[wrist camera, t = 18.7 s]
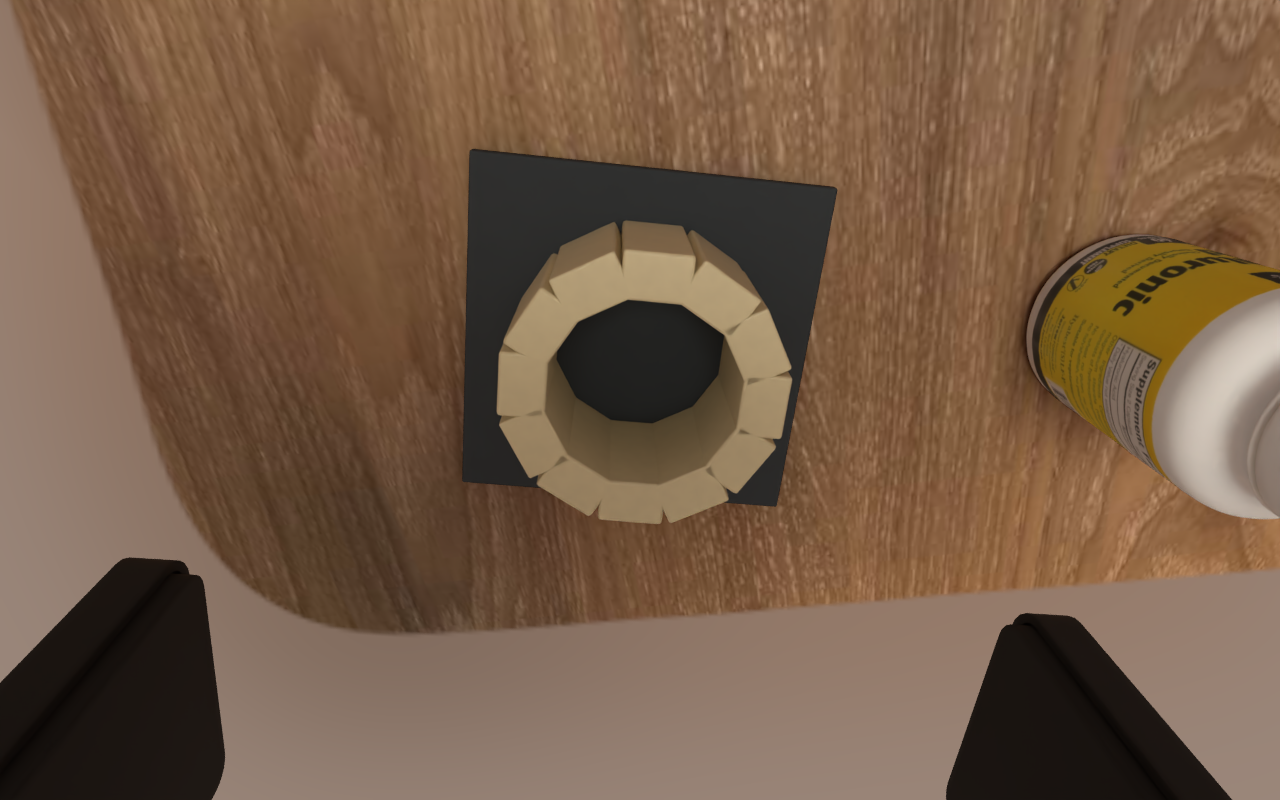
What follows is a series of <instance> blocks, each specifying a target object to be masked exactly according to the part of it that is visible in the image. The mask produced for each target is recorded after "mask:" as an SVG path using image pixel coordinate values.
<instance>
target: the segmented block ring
mask: <svg viewBox="0 0 1280 800" xmlns="http://www.w3.org/2000/svg"><path fill="white" fill-rule="evenodd" d="M626 300H636V301H647V302H657V303H668V304H679V305H682V306H684V307H685V308H687V309H688V310H689V311H691V312H692V313H694V314H695V315H697V316H698V317H699V318H701V319H702V320H704V321H705V322H706V323H708V324H709V325H711V326H712V327H713V328H715V329H716V330H718V331H719V332H721V333H722V334H723V335H724V340H723V347H722V353H721V360H720V367H719V373H718V376H717V377H716V378H715V380H714V381H713V382H712V383H711V385H710V386H709V387H708V388H707V389H706V391H705V392H704V393H703V394H702V396H701V397H700V398H699V399H698V401H697V402H696V403H695V404H694V406H693V407H691V408H688V409H686V410H683V411H681V412H679V413H676V414H674V415H671V416H669V417H667V418H664V419H662V420H659V421H657V422H655V423H640V422H628V421H616V420H610V419H609V418H607V417H605V416H604V415H602V414H601V413H599V412H598V411H596V410H595V409H593V408H592V407H590V406H588V405H587V404H585V403H584V402H582V401H581V400H579V399H578V398H576V396H575V395H574V393H573V391H572V389H571V387H570V385H569V383H568V381H567V379H566V377H565V375H564V373H563V371H562V369H561V367H560V366H559V364H558V362H557V350H558V349H559V348H560V346H561V345H562V343H563V342H564V341H565V339H566V338H567V336H568V335H569V334H570V332H571V331H572V329H573V328H574V327H575V325H576V324H577V323H578V322H579V321H581V320H583V319H585V318H588V317H590V316H592V315H594V314H597V313H599V312H601V311H604V310H606V309H608V308H610V307H613V306H615V305H617V304H619V303H622V302H624V301H626ZM503 342H504V343H503V346H502V348H501V350H500V352H499V363H498V389H497V414H498V415H502V417H501V420H500V423H499V426H500V428H501V429H502V431H503V433H504V435H505V436H506V438H507V440H508V442H509V443H510V445H511V447H512V449H513V450H514V452H515V454H516V456H517V458H518V459H519V461H520V463H521V465H522V466H523V468H524V470H525V472H526V473H527V475H528V477H529V478H532V477H534V476H537V475H538V479H537V485H538V486H539V487H541V488H543V489H544V490H546V491H548V492H549V493H551V494H553V495H554V496H556V497H558V498H559V499H561V500H562V501H564V502H566V503H567V504H569V505H571V506H572V507H574V508H576V509H577V510H579V511H581V512H582V513H584V514H586V515H587V516H590V515H591V514H592V513H593V512H594V511H595V509H596V508H597V507H598V518H599V519H600V520H611V521H624V522H636V523H649V524H660V523H661V522H662V516H663V511H664V513H665V515H666V517H667V519H668V521H669V522H670V523H673V522H675V521H678V520H680V519H683V518H685V517H688V516H691V515H693V514H696V513H698V512H701V511H703V510H706V509H708V508H711V507H713V506H716V505H718V504H721V503H723V502H726V501H728V500H729V498H728V494H727V490H726V488H727V489H728V490H730V491H732V492H733V493H738V492H739V490H740V489H741V488H742V487H743V486H744V485H745V484H746V482H747V481H748V480H749V479H750V478H751V477H752V475H753V474H754V473H755V472H756V471H757V470H758V468H759V467H760V466H761V465H762V464H763V463H764V462H765V460H766V459H767V458H768V457H769V456H770V455H771V453H772V452H773V451H774V450H775V448H776V446H775V443H774V441H773V439H780V438H781V436H782V432H783V426H784V421H785V416H786V410H787V405H788V400H789V395H790V389H791V384H792V378H791V376H790V374H789V372H788V370H790V369H791V365H790V362H789V360H788V357H787V354H786V352H785V349H784V347H783V344H782V342H781V339H780V337H779V334H778V332H777V329H776V327H775V324H774V322H773V319H772V317H771V314H770V312H769V309H768V308H767V306H766V305H765V303H764V302H763V300H762V298H761V297H760V295H759V294H758V292H757V291H756V289H755V287H754V286H753V284H752V283H751V281H750V279H749V278H748V276H747V275H746V273H745V272H744V271H742V269H741V268H740V266H739V265H738V263H737V262H736V261H734V260H733V259H732V258H730V257H729V256H727V255H726V254H725V253H723V252H722V251H721V250H719V249H718V248H717V247H715V246H714V245H713V244H711V243H710V242H709V241H707V240H706V239H704V238H703V237H702V236H700V235H699V234H698V233H696V232H695V231H693V230H691V231H690V232H689V233H688V235H686V233H685V230H684V228H683V227H682V226H677V225H667V224H657V223H647V222H637V221H627V220H626V221H624V222H623V224H622V235H621V233H620V231H619V229H618V227H617V225H616V223H615V222H612V223H610V224H608V225H606V226H603V227H601V228H599V229H597V230H595V231H593V232H590V233H588V234H586V235H584V236H582V237H579V238H577V239H575V240H573V241H571V242H568V243H566V244H564V245H562V246H561V247H560V249H559V252H558V255H557V254H555V253H553V254H551V256H550V257H549V259H548V260H547V262H546V263H545V265H544V266H543V268H542V269H541V270H540V272H539V273H538V275H537V276H536V278H535V279H534V281H533V282H532V284H531V285H530V287H529V288H528V289H527V291H526V292H525V294H524V295H523V297H522V298H521V301H520V303H519V305H518V308H517V310H516V312H515V315H514V317H513V319H512V321H511V324H510V326H509V328H508V331H507V333H506V335H505V338H504V341H503Z"/></svg>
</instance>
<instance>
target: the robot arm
mask: <svg viewBox="0 0 1280 800" xmlns="http://www.w3.org/2000/svg"><path fill="white" fill-rule="evenodd" d="M224 762H225V749H224V742H223V734H222V725H221V717H220V710H219V702H218V693H217V685H216V677H215V669H214V661H213V653H212V645H211V638H210V630H209V621H208V614H207V606H206V597H205V589H204V584H203V580H202V579H201V577H200V576H197V575H190V574H189V571H188V568H187V566H186V565H185V563H183V562H181V561H177V560H161V559H145V558H125V559H122V560H121V561H119V562H118V563H117V564H115V565H114V567H113V568H112V569H111V570H110V571H109V572H108V573H107V574H106V575H105V576H104V577H103V578H102V579H101V580H100V581H99V582H98V583H97V584H96V585H95V586H94V587H93V588H92V589H91V590H90V591H89V592H88V593H87V594H86V595H85V596H84V597H83V598H82V599H81V601H79V602H78V603H77V604H76V606H75V607H74V608H73V609H72V610H71V611H70V612H69V613H68V614H67V615H66V616H65V617H64V618H63V619H62V620H61V621H60V622H59V623H58V624H57V625H56V626H55V627H54V628H53V629H52V630H51V631H50V632H49V633H48V634H47V635H46V636H45V637H44V638H43V639H42V640H41V641H40V643H39V644H38V645H37V646H36V647H35V648H34V649H33V650H32V651H31V652H30V653H29V654H28V655H27V656H26V657H25V658H24V659H23V660H22V661H21V662H20V663H19V664H18V665H17V666H16V667H15V668H14V669H13V670H12V671H11V672H10V673H9V674H8V675H7V676H6V678H4V679H3V681H2V682H1V683H0V800H212V798H213V796H214V794H215V792H216V790H217V788H218V786H219V783H220V780H221V777H222V773H223V769H224ZM946 800H1232V799H1231V798H1230V797H1229V796H1228V795H1227V793H1226V792H1225V791H1224V790H1223V789H1222V788H1221V786H1220V785H1219V784H1218V783H1217V782H1216V781H1215V779H1214V778H1213V777H1212V776H1211V775H1210V773H1209V772H1208V771H1207V770H1206V769H1205V768H1204V766H1203V765H1202V764H1201V763H1200V762H1199V761H1198V759H1197V758H1196V757H1195V756H1194V755H1193V753H1192V752H1191V751H1190V750H1189V749H1188V748H1187V747H1186V745H1185V744H1184V743H1183V742H1182V741H1181V740H1180V738H1179V737H1178V736H1177V735H1176V734H1175V732H1174V731H1173V730H1172V729H1171V728H1170V727H1169V725H1168V724H1167V723H1166V722H1165V721H1164V720H1163V719H1162V718H1161V716H1160V715H1159V714H1158V713H1157V711H1156V710H1155V709H1154V708H1153V707H1152V706H1151V705H1150V703H1149V702H1148V701H1147V700H1146V699H1145V698H1144V696H1143V695H1142V694H1141V693H1140V692H1139V691H1138V689H1137V688H1136V687H1135V686H1134V685H1133V684H1132V682H1131V681H1130V680H1129V679H1128V678H1127V677H1126V675H1125V674H1124V673H1123V672H1122V671H1121V669H1120V668H1119V667H1118V666H1117V665H1116V664H1115V663H1114V661H1113V660H1112V659H1111V658H1110V657H1109V655H1108V654H1107V653H1106V652H1105V651H1104V650H1103V649H1102V647H1101V646H1100V645H1099V644H1098V643H1097V641H1096V640H1095V639H1094V638H1093V637H1092V636H1091V634H1090V633H1089V632H1088V631H1087V630H1086V629H1085V627H1084V626H1083V625H1082V624H1081V623H1080V622H1079V621H1078V620H1076V619H1075V618H1073V617H1070V616H1063V615H1047V614H1030V613H1025V614H1021V615H1019V616H1018V617H1017V618H1016V619H1015V620H1014V622H1013V624H1012V625H1011V624H1010V625H1006V626H1005V627H1004V628H1003V629H1002V630H1001V632H1000V634H999V637H998V640H997V643H996V645H995V649H994V651H993V654H992V657H991V660H990V663H989V666H988V669H987V671H986V674H985V678H984V680H983V683H982V686H981V689H980V692H979V695H978V697H977V701H976V703H975V706H974V709H973V712H972V715H971V718H970V721H969V724H968V727H967V730H966V732H965V735H964V738H963V741H962V744H961V747H960V749H959V752H958V755H957V758H956V761H955V764H954V767H953V770H952V773H951V775H950V778H949V781H948V785H947V791H946Z"/></svg>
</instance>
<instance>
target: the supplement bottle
mask: <svg viewBox="0 0 1280 800" xmlns="http://www.w3.org/2000/svg"><path fill="white" fill-rule="evenodd" d="M1027 352H1028V358H1029V361H1030V364H1031V367H1032V369H1033V371H1034V373H1035V375H1036V376H1037V378H1038V380H1039V381H1040V382H1041V384H1042V385H1043V386H1044V387H1045V388H1046V389H1047V390H1048V391H1049V392H1050V393H1051V394H1052V395H1053V396H1054V397H1056V398H1057V399H1058V400H1060V401H1061V402H1062V403H1063V404H1065V405H1066V406H1067V407H1069V408H1070V409H1072V410H1073V411H1074V412H1076V413H1077V414H1079V415H1080V416H1081V417H1082V418H1084V419H1085V420H1087V421H1088V422H1089V423H1091V424H1092V425H1093V426H1095V427H1096V428H1097V429H1099V430H1100V431H1102V432H1103V433H1104V434H1106V435H1107V436H1109V437H1110V438H1111V439H1113V440H1114V441H1115V442H1117V443H1118V444H1119V445H1121V446H1122V447H1123V448H1125V449H1126V450H1127V451H1129V452H1130V453H1131V454H1133V455H1134V456H1135V457H1137V458H1138V459H1140V460H1141V461H1142V462H1144V463H1145V464H1147V465H1148V466H1149V467H1151V468H1152V469H1153V470H1155V471H1156V472H1157V473H1159V474H1160V475H1162V476H1163V477H1165V478H1166V479H1167V480H1169V481H1170V482H1171V483H1173V484H1174V485H1175V486H1177V487H1178V488H1179V489H1181V490H1182V491H1183V492H1185V493H1187V494H1188V495H1190V496H1191V497H1193V498H1194V499H1196V500H1197V501H1199V502H1200V503H1202V504H1204V505H1206V506H1208V507H1210V508H1212V509H1215V510H1217V511H1219V512H1222V513H1226V514H1229V515H1233V516H1238V517H1245V518H1253V519H1279V518H1280V270H1277V269H1274V268H1270V267H1266V266H1263V265H1260V264H1256V263H1253V262H1250V261H1246V260H1243V259H1240V258H1236V257H1233V256H1229V255H1226V254H1222V253H1219V252H1215V251H1212V250H1208V249H1205V248H1201V247H1198V246H1195V245H1192V244H1188V243H1185V242H1182V241H1178V240H1175V239H1170V238H1165V237H1160V236H1154V235H1137V234H1134V235H1124V236H1119V237H1114V238H1110V239H1107V240H1104V241H1101V242H1099V243H1096V244H1094V245H1092V246H1090V247H1088V248H1086V249H1084V250H1082V251H1081V252H1079V253H1078V254H1076V255H1074V256H1073V257H1072V258H1070V259H1069V260H1068V261H1066V262H1065V263H1064V264H1063V265H1062V266H1061V267H1059V268H1058V269H1057V271H1056V272H1055V273H1054V274H1053V275H1052V276H1051V277H1050V278H1049V280H1048V281H1047V282H1046V284H1045V285H1044V286H1043V288H1042V290H1041V291H1040V293H1039V295H1038V297H1037V299H1036V301H1035V303H1034V306H1033V308H1032V311H1031V314H1030V317H1029V321H1028V327H1027Z"/></svg>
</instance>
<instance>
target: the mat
mask: <svg viewBox="0 0 1280 800" xmlns="http://www.w3.org/2000/svg"><path fill="white" fill-rule="evenodd" d="M836 195H837V189H836V188H834V187H830V186H821V185H811V184H802V183H792V182H782V181H773V180H763V179H754V178H744V177H735V176H725V175H716V174H706V173H697V172H687V171H678V170H668V169H659V168H649V167H640V166H630V165H621V164H611V163H602V162H592V161H583V160H573V159H564V158H554V157H545V156H535V155H526V154H516V153H507V152H497V151H488V150H478V149H472V150H470V158H469V203H468V249H467V294H466V339H465V384H464V430H463V475H462V480H463V482H473V483H485V484H498V485H510V486H523V487H535V488H541V487H539V486H538V485H537V479H538V475H537V476H534V477H532V478H529V477H528V475H527V473H526V472H525V470H524V468H523V466H522V465H521V463H520V461H519V459H518V458H517V456H516V454H515V452H514V450H513V449H512V447H511V445H510V443H509V442H508V440H507V438H506V436H505V435H504V433H503V431H502V429H501V428H500V426H499V423H500V420H501V417H502V415H498V414H497V389H498V363H499V352H500V350H501V348H502V346H503V343H504V342H503V341H504V338H505V335H506V333H507V331H508V328H509V326H510V324H511V321H512V319H513V317H514V315H515V312H516V310H517V308H518V305H519V303H520V301H521V298H522V297H523V295H524V294H525V292H526V291H527V289H528V288H529V287H530V285H531V284H532V282H533V281H534V279H535V278H536V276H537V275H538V273H539V272H540V270H541V269H542V268H543V266H544V265H545V263H546V262H547V260H548V259H549V257H550V256H551V254H553V253H555V254H557V255H558V252H559V249H560V247H561V246H562V245H564V244H566V243H568V242H571V241H573V240H575V239H577V238H579V237H582V236H584V235H586V234H588V233H590V232H593V231H595V230H597V229H599V228H601V227H603V226H606V225H608V224H610V223H612V222H615V223H616V225H617V227H618V229H619V231H620V233H621V235H622V224H623V222H624V221H626V220H627V221H637V222H647V223H657V224H667V225H677V226H682V227H683V228H684V230H685V233H686V235H688V233H689V232H690V231H691V230H693V231H695V232H696V233H698V234H699V235H700V236H702V237H703V238H704V239H706V240H707V241H709V242H710V243H711V244H713V245H714V246H715V247H717V248H718V249H719V250H721V251H722V252H723V253H725V254H726V255H727V256H729V257H730V258H732V259H733V260H734V261H736V262H737V263H738V265H739V266H740V268H741V269H742V271H744V272H745V273H746V275H747V276H748V278H749V279H750V281H751V283H752V284H753V286H754V287H755V289H756V291H757V292H758V294H759V295H760V297H761V298H762V300H763V302H764V303H765V305H766V306H767V308H768V309H769V312H770V314H771V317H772V319H773V322H774V324H775V327H776V329H777V332H778V334H779V337H780V339H781V342H782V344H783V347H784V349H785V352H786V354H787V357H788V360H789V362H790V365H791V369H790V370H788V372H789V374H790V376H791V378H792V384H791V389H790V395H789V400H788V405H787V410H786V416H785V421H784V426H783V432H782V436H781V438H780V439H773V441H774V443H775V446H776V448H775V450H774V451H773V452H772V453H771V455H770V456H769V457H768V458H767V459H766V460H765V462H764V463H763V464H762V465H761V466H760V467H759V468H758V470H757V471H756V472H755V473H754V474H753V475H752V477H751V478H750V479H749V480H748V481H747V482H746V484H745V485H744V486H743V487H742V488H741V489H740V490H739V492H738V493H733V492H732V491H730V490H728V489H727V488H726V490H727V494H728V498H729V500H728V501H726V502H724V503H737V504H749V505H762V506H774V507H775V506H777V501H778V496H779V491H780V485H781V480H782V475H783V470H784V465H785V459H786V454H787V449H788V444H789V439H790V433H791V428H792V423H793V418H794V413H795V407H796V402H797V397H798V392H799V387H800V381H801V376H802V371H803V366H804V361H805V355H806V350H807V345H808V340H809V335H810V330H811V324H812V319H813V314H814V309H815V304H816V298H817V293H818V288H819V283H820V278H821V272H822V267H823V262H824V257H825V252H826V246H827V241H828V236H829V231H830V226H831V220H832V215H833V210H834V205H835V200H836ZM723 340H724V335H723V334H722V333H721V332H719V331H718V330H716V329H715V328H713V327H712V326H711V325H709V324H708V323H706V322H705V321H704V320H702V319H701V318H699V317H698V316H697V315H695V314H694V313H692V312H691V311H689V310H688V309H687V308H685V307H684V306H682V305H679V304H668V303H657V302H647V301H636V300H626V301H624V302H622V303H619V304H617V305H615V306H613V307H610V308H608V309H606V310H604V311H601V312H599V313H597V314H594V315H592V316H590V317H588V318H585V319H583V320H581V321H579V322H578V323H577V324H576V325H575V327H574V328H573V329H572V331H571V332H570V334H569V335H568V336H567V338H566V339H565V341H564V342H563V343H562V345H561V346H560V348H559V349H558V350H557V362H558V364H559V366H560V367H561V369H562V371H563V373H564V375H565V377H566V379H567V381H568V383H569V385H570V387H571V389H572V391H573V393H574V395H575V396H576V398H578V399H579V400H581V401H582V402H584V403H585V404H587V405H588V406H590V407H592V408H593V409H595V410H596V411H598V412H599V413H601V414H602V415H604V416H605V417H607V418H609V419H610V420H616V421H628V422H640V423H655V422H657V421H659V420H662V419H664V418H667V417H669V416H671V415H674V414H676V413H679V412H681V411H683V410H686V409H688V408H691V407H693V406H694V404H695V403H696V402H697V401H698V399H699V398H700V397H701V396H702V394H703V393H704V392H705V391H706V389H707V388H708V387H709V386H710V385H711V383H712V382H713V381H714V380H715V378H716V377H717V376H718V373H719V367H720V360H721V353H722V347H723Z"/></svg>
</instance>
